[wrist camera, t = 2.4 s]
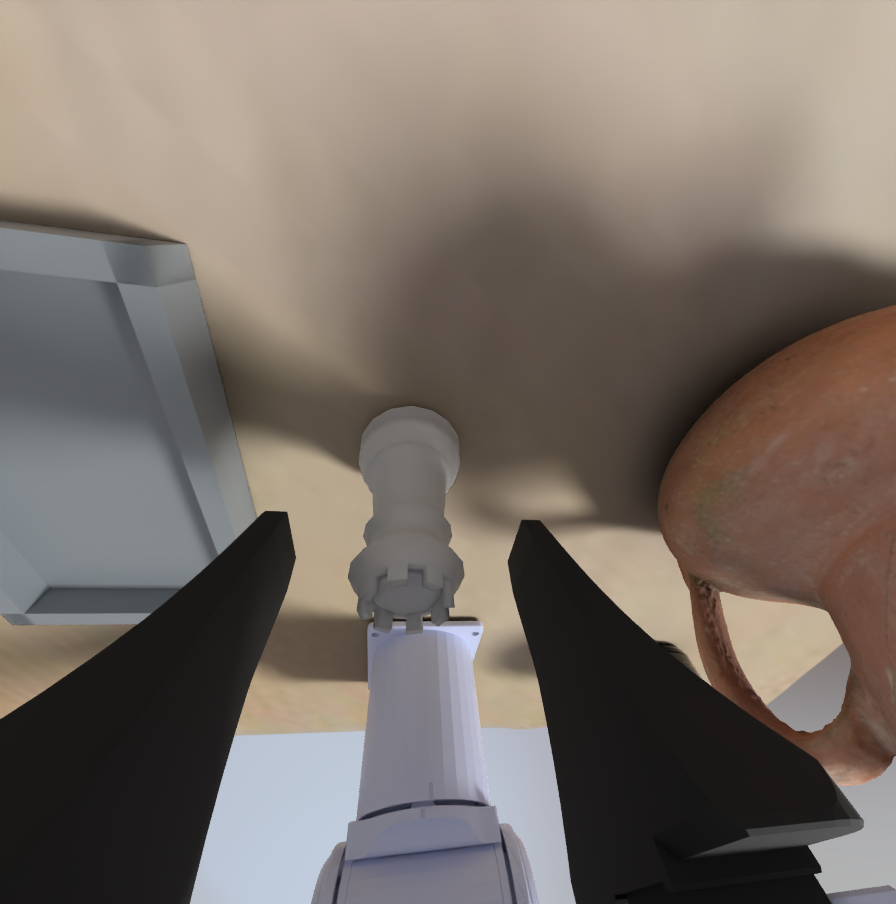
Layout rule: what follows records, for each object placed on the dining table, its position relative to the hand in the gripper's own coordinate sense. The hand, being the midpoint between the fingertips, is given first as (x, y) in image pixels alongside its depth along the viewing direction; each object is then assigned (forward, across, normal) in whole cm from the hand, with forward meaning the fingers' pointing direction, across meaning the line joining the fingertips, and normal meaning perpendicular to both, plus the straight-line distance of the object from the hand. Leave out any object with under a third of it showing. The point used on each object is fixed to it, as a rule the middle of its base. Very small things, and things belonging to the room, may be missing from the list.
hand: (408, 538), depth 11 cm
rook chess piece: (+6, 0, 0) cm, 6 cm away
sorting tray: (+6, +14, +2) cm, 15 cm away
